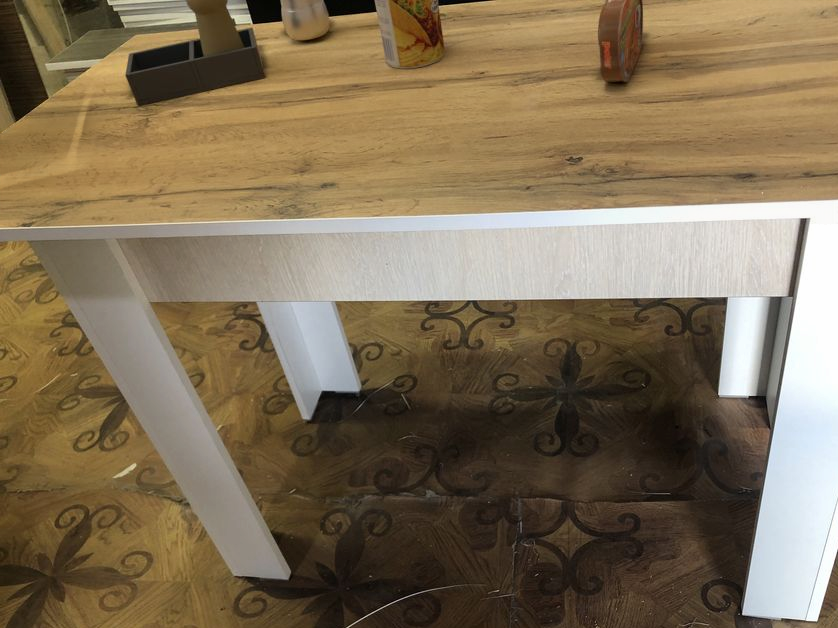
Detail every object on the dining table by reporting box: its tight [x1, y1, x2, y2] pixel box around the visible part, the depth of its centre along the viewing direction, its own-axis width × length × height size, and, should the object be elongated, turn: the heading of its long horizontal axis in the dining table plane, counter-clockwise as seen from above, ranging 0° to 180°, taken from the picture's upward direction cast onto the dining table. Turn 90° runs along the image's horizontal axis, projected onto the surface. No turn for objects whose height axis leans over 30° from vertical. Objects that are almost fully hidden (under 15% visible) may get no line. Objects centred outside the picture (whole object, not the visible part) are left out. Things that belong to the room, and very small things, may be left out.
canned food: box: [374, 0, 446, 70], centre depth 98 cm, size 8×8×12 cm
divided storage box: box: [125, 27, 266, 107], centre depth 104 cm, size 17×9×4 cm, turn 106°
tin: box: [597, 0, 644, 83], centre depth 88 cm, size 15×3×8 cm, turn 161°
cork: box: [185, 0, 244, 57], centre depth 101 cm, size 6×6×11 cm
